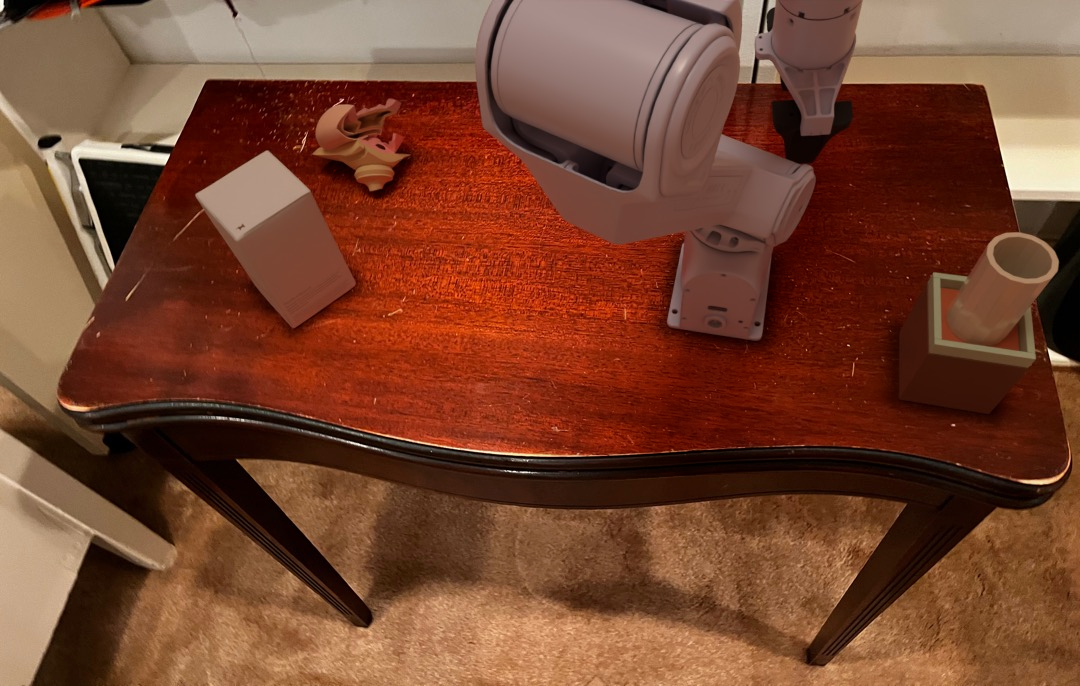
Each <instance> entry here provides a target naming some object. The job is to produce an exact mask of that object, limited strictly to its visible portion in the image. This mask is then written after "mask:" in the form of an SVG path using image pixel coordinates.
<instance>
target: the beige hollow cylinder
mask: <svg viewBox="0 0 1080 686" xmlns="http://www.w3.org/2000/svg"><path fill="white" fill-rule="evenodd" d="M1059 264H1060V261H1059V258H1058V255H1057V253H1056V251H1055V250H1054V249H1053V248H1052V247H1051V246H1050V245H1049V244H1048V243H1047V242H1046V241H1044V240H1042V239H1040V238H1039V237H1038V236H1035V235H1032V234H1028V233H1024V232H1019V231H1016V232H1015V231H1014V232H1004V233H1002V234H999V235H997V236H994V237H993V238H992V239H991V240H990V242H989V243H988V244H987V245H986V247H985V248H984V250H983V252H982V253H981V255H980V256H979V258H978V260H977V261H976V263H975V264H974V266H973V268H972V269H971V271H970V272H969V274H968V275H967V276H966V277H967V279H966V281H965V282H964V284H963V285H962V287H961V289H960V290H959V292H958V293H957V295H956V297H955V298H954V300H953V301H952V303H951V305H950V307H949V309H948V311H947V314H946V320H947V324H948V326H949V328H950V330H951V331H952V332H953V333H954V334H955V335H956V336H957V337H958V338H960V339H961V340H963V341H965V342H967V343H969V344H974V345H981V346H992V345H996V344H998V343H1000V342H1002V341H1003V340H1004V339H1005V338H1006V337H1007V335H1008V334H1009V333H1010V332H1011V330H1012V329H1013V328H1014V327H1015V325H1016V324H1017V323H1018V322H1019V320H1020V319H1021V318H1022V316H1023V315H1024V314H1025V313H1026V311H1027V310H1028V309H1029V307H1030V306H1031V307H1032V306H1033V304H1034V302H1035V301H1036V300H1037V298H1038V297H1039V296H1040V295H1041V294H1042V292H1043V291H1044V290H1045V288H1046V287H1047V286H1048V285H1049V283H1050V282H1051V280H1053V278H1054V277H1055V275H1056V274H1057V273H1058V271H1059V266H1060V265H1059Z"/></svg>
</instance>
